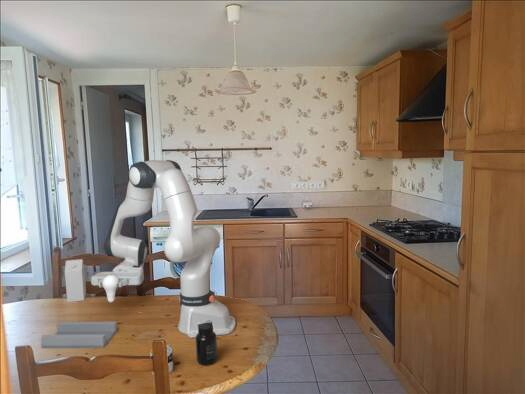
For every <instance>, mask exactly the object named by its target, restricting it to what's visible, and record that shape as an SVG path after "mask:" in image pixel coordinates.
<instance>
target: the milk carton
mask: <svg viewBox="0 0 525 394" xmlns="http://www.w3.org/2000/svg"><path fill="white" fill-rule="evenodd" d="M64 266H65V267H64V279H65V289H66V291H65V292H66V301H67V303H74V302H81V301H82V302H84V301H85V300H86V296H87V287H86V286H87V285H86V273H85V265H84V261H83V258H81V259H71V260H70V259H69V260H65V265H64Z"/></svg>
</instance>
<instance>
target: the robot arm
mask: <svg viewBox="0 0 525 394" xmlns="http://www.w3.org/2000/svg"><path fill="white" fill-rule="evenodd" d="M155 188H158V189H159V190H160V192H161V195H162V198H163V202H164V205H165V207H166V212H167V215H168V216H167V217H168V220H169V231H168V232H169V233H168V235H167V238H166V240H165V241H164V245H163V251H164V255H165V257H166V258H167V259H168V260H169V261H170V262H172V263H185V262H186V263H185V266H184V267H183V268H182V270H180V275H179V279H180V281H179V282H180V292H179V307H180V316H179V323H178V326H177V329H178V331H179V332H180V333H182V334H185V335H186V336H187V337H188V338H192V339H193V338H194V339H195V338H196V335H197V334H198V326H199V325H200V324H203V323H211V324H212V325H213V331H214V332H215V333H216V336H221V335H229V334H231V333H232V332H233V331H234V330H235V328H236V318H235V317H234V316H232V315H230V311H229V308H228V307H227V306H226V305H225V304H223V303H222V302H219V301H218V299H216V293H215V292H216V291H215V290H213V291H212V290H211V289H210V272H211V265H212V262H213V259H214V255H215V252H216V250H217V249H218V247H219V246H220V244H221V234H220V232H219V231H218V230H217V229H216V227H214V226H208V225H207V226H205V225H204V226H199V227H198V226H197V227H195V226H194V219H195V217H196V215H197V213H198V208H197V207H198V206H197V204H196V200H195V197H194V195H193V193H192V189H191V186H190V184H189V181H188V179H187V177H186V176H185V174H184V172H183V170H182V168H181V166H180V164H179V163H178V162H177V161H174V160H171V159H165V160H164V159H163V160H161V159H160V160H159V159H158V160H157V159H154V160H153V159H152V160H144V161H141V160H140V161H137V162H134V163H132V164H131V166H130V167H129V169H128V184H127V189H126V195H125V199H124V200H123V201H122V202H119V204H118V205H117V206H116V208H115V210H114V213H113V216H112V220H111V222H110V227H109V229H108V234H107V236H106V239H105V241H104V243H103V251H104V252H105V254H106V256H107V257H113V258H120V259H124V260H123V261H122V262H120V263H119V264H118V265H116V266H115V267H114V268H113V269H112V270H111V271H99V272H97V273H95V274H94V275H92V276H90V283H91V286H98V287H99V288H101V289H102V288H104V287H103V285H102V282H103V279H104V278H105V277H106V276H108V275H115V276H116V277H117V278H118V279H119V282H118V283H117V288H122V287H124V286H139V285H141V284H142V283H143V281H144V279H145V277H144V276H145V275H144V265H145V262H146V260H147V257H148V254H149V253H148V252H149V248H148V245H147V243H146V242H145V240H144V239H139V238H134V237H129V236H125V235H122V234H121V230H122V228H123V224H124V220H125V219H127V218H135V217H139V216H143V215H145V214H146V213H148V212H149V211H150V210H151V208H152V206H153V204H154V203H153V202H154V195H155Z"/></svg>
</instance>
